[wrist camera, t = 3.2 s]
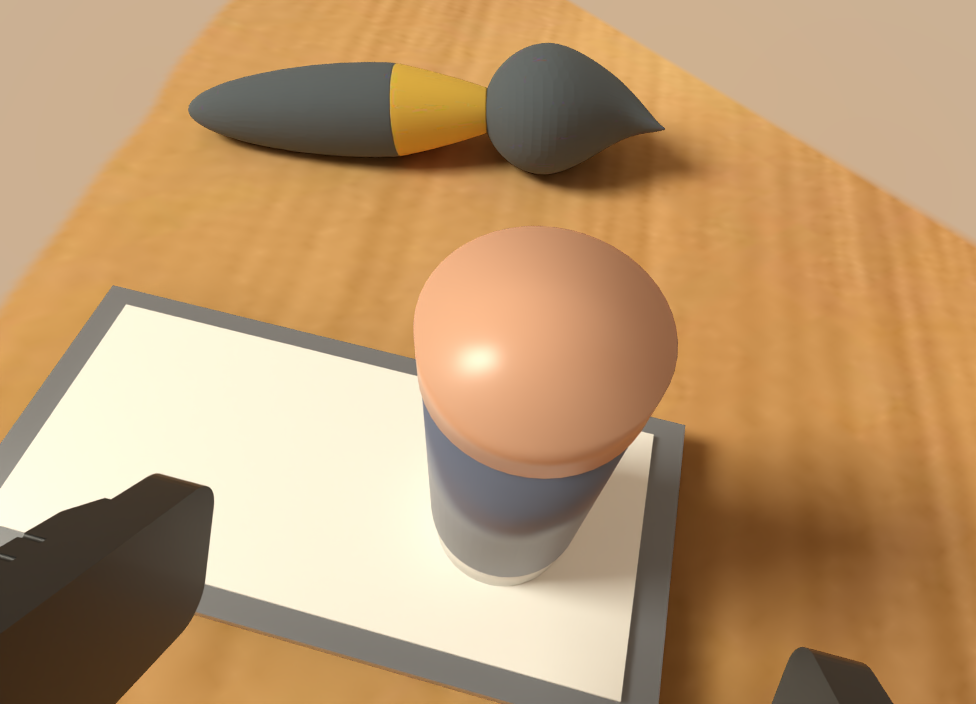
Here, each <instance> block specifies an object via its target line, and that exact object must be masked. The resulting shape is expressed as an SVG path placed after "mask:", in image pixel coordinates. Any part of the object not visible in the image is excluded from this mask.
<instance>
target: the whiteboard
mask: <svg viewBox="0 0 976 704" xmlns="http://www.w3.org/2000/svg"><path fill="white" fill-rule="evenodd" d="M684 433H685V425H682V424H678V423H674V422H670V421H666V420H661V419H657V418H653V417H650V418H649V420H648V421H647V423H646V425H645V426H644V428H643V430H642V431H641V433H640V434H639V435H638V436H637V438H636V439H635V440H634V441H633V443H632V444H631V445H630V446H629V447H628V448H627V450H626V452H625V453H624V455H623V457H622V458H621V460H620V461H619V463H618V465H617V466H616V468H615V470H614V471H613V473H612V475H611V476H610V478H609V480H608V481H607V483H606V485H605V486H604V488H603V490H602V491H601V493H600V495H599V496H598V498H597V500H596V501H595V503H594V505H593V506H592V508H591V509H590V511H589V513H588V514H587V516H586V518H585V519H584V521H583V523H582V524H581V526H580V528H579V529H578V531H577V533H576V534H575V536H574V538H573V539H572V541H571V543H570V544H569V546H568V547H567V548H566V550H565V551H564V552H563V554H561V555H560V556H559V557H558V558H557V559H556V560H555V561H554V562H553V564H552V565H551V566H550V567H549V568H548V569H547V570H546V571H545V572H543V573H542V574H541V575H539V576H538V577H536V578H534V579H532V580H530V581H528V582H525V583H522V584H518V585H514V586H493V585H488V584H485V583H482V582H479V581H476V580H474V579H472V578H470V577H469V576H467V575H466V574H464V573H463V572H461V571H460V570H459V569H458V568H457V567H456V566H455V565H454V564H453V563H452V562H451V560H450V559H449V558H448V556H447V555H446V553H445V552H444V550H443V548H442V545H441V543H440V540H439V537H438V533H437V529H436V527H435V524H434V520H433V516H432V510H431V498H430V486H429V474H428V462H427V450H426V438H425V426H424V414H423V402H422V395H421V392H420V388H419V383H418V377H417V366H416V359H412V358H408V357H404V356H400V355H396V354H392V353H387V352H383V351H379V350H375V349H371V348H367V347H363V346H359V345H355V344H351V343H347V342H342V341H338V340H334V339H330V338H326V337H322V336H318V335H314V334H310V333H306V332H302V331H297V330H293V329H289V328H285V327H281V326H277V325H273V324H269V323H265V322H261V321H257V320H252V319H248V318H244V317H240V316H236V315H232V314H228V313H224V312H220V311H216V310H212V309H208V308H203V307H199V306H195V305H191V304H187V303H183V302H179V301H175V300H171V299H167V298H163V297H158V296H154V295H150V294H146V293H142V292H138V291H134V290H130V289H126V288H122V287H118V286H112V287H111V289H110V290H109V292H108V293H107V294H106V296H105V297H104V299H103V300H102V302H101V303H100V304H99V306H98V307H97V309H96V310H95V311H94V313H93V314H92V316H91V317H90V318H89V320H88V321H87V323H86V324H85V325H84V327H83V328H82V330H81V331H80V332H79V334H78V335H77V337H76V338H75V340H74V341H73V342H72V344H71V345H70V347H69V348H68V349H67V351H66V352H65V354H64V355H63V356H62V358H61V359H60V361H59V362H58V363H57V365H56V366H55V368H54V369H53V370H52V372H51V373H50V375H49V376H48V378H47V379H46V380H45V382H44V383H43V385H42V386H41V387H40V389H39V390H38V392H37V393H36V394H35V396H34V397H33V399H32V400H31V401H30V403H29V404H28V406H27V407H26V409H25V410H24V411H23V413H22V414H21V416H20V417H19V418H18V420H17V421H16V423H15V424H14V425H13V427H12V428H11V430H10V431H9V432H8V434H7V435H6V437H5V438H4V439H3V441H2V442H1V444H0V547H1V546H2V545H4V544H6V543H7V542H9V541H11V540H13V539H14V538H16V537H20V538H22V537H23V536H24V534H25V532H26V531H28V530H30V529H31V528H33V527H35V526H37V525H38V524H40V523H42V522H43V521H45V520H47V519H49V518H50V517H52V516H54V515H55V514H57V513H59V512H61V511H64V510H67V509H70V508H73V507H77V506H80V505H83V504H86V503H89V502H93V501H96V500H99V499H102V498H108V499H112V498H114V497H115V496H117V495H119V494H120V493H122V492H124V491H125V490H127V489H128V488H130V487H132V486H133V485H135V484H136V483H138V482H140V481H141V480H143V479H144V478H146V477H148V476H150V475H152V474H155V473H160V474H163V475H167V476H171V477H175V478H178V479H182V480H186V481H190V482H193V483H197V484H201V485H205V486H208V487H210V488H211V489H212V491H213V494H214V510H213V519H212V527H211V536H210V545H209V553H208V562H207V570H206V579H205V586H204V590H203V594H202V597H201V600H200V603H199V605H198V607H197V610H196V612H195V614H194V615H197V616H200V617H204V618H207V619H211V620H214V621H218V622H221V623H224V624H228V625H231V626H235V627H238V628H242V629H245V630H249V631H252V632H256V633H259V634H263V635H266V636H269V637H273V638H276V639H280V640H283V641H287V642H290V643H294V644H297V645H301V646H304V647H308V648H311V649H314V650H318V651H321V652H325V653H328V654H332V655H335V656H339V657H342V658H346V659H349V660H352V661H356V662H359V663H363V664H366V665H370V666H373V667H377V668H380V669H384V670H387V671H391V672H394V673H397V674H401V675H404V676H408V677H411V678H415V679H418V680H422V681H425V682H429V683H432V684H436V685H439V686H442V687H446V688H449V689H453V690H456V691H460V692H463V693H467V694H470V695H474V696H477V697H481V698H484V699H487V700H491V701H494V702H498V703H501V704H659V694H660V684H661V673H662V663H663V652H664V642H665V632H666V621H667V611H668V600H669V590H670V579H671V569H672V559H673V548H674V538H675V527H676V517H677V506H678V496H679V486H680V475H681V465H682V454H683V444H684Z"/></svg>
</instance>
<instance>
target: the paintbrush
mask: <svg viewBox="0 0 976 704" xmlns="http://www.w3.org/2000/svg"><path fill="white" fill-rule="evenodd" d="M188 111H189V114H190V116H191V117H192V118H193V119H194V120H195V121H196V122H197V123H199V124H200V125H202V126H204V127H206V128H207V129H209V130H212V131H214V132H216V133H219V134H222V135H224V136H227V137H230V138H234V139H237V140H241V141H244V142H249V143H253V144H257V145H262V146H267V147H272V148H278V149H284V150H291V151H297V152H305V153H314V154H323V155H335V156H352V157H395V156H403V155H409V154H413V153H418V152H422V151H426V150H430V149H434V148H438V147H442V146H446V145H449V144H453V143H457V142H460V141H463V140H467V139H470V138H473V137H476V136H479V135H483V134H486V133H488V135H489V138H490V140H491V142H492V143H493V145H494V147H495V148H496V149H497V151H498V152H499V153H500V154H501V155H502V156H503V157H504V158H505V159H506V160H507V161H508V162H510V163H511V164H513V165H514V166H516V167H518V168H520V169H522V170H524V171H527V172H530V173H535V174H553V173H557V172H561V171H564V170H566V169H569V168H571V167H573V166H575V165H578V164H580V163H582V162H583V161H585V160H587V159H589V158H590V157H592V156H594V155H595V154H597V153H599V152H601V151H602V150H604V149H606V148H607V147H609V146H611V145H612V144H614V143H616V142H618V141H620V140H622V139H625V138H628V137H631V136H634V135H638V134H643V133H650V132H657V131H662V130H665V128H664V127H662V126H661V125H660V124H659V123H658V122H657V121H656V120H655V118H654V117H653V116H652V115H651V114H650V113H649V111H648V110H647V109H646V108H645V106H644V105H643V104H642V103H641V102H640V101H639V99H638V98H637V97H636V96H635V95H634V94H633V93H632V92H631V91H630V90H629V89H628V88H627V87H626V86H625V85H624V84H623V83H622V82H621V81H620V80H619V79H618V78H617V77H615V76H614V75H613V74H612V73H611V72H609V71H608V70H607V69H605V68H604V67H603V66H601V65H600V64H598V63H597V62H595V61H594V60H592V59H590V58H589V57H587V56H585V55H584V54H582V53H580V52H578V51H576V50H574V49H571V48H569V47H567V46H563V45H559V44H554V43H541V44H536V45H532V46H529V47H526V48H524V49H522V50H520V51H518V52H516V53H515V54H514V55H512V56H511V57H510V58H508V59H507V60H506V61H505V62H504V63H503V64H502V65H501V66H500V68H499V69H498V70H497V71H496V73H495V74H494V76H493V78H492V79H491V82H490V84H489V86H488V88H486V87H483V86H480V85H477V84H474V83H471V82H468V81H464V80H461V79H458V78H455V77H451V76H447V75H444V74H440V73H436V72H432V71H429V70H425V69H420V68H416V67H412V66H408V65H403V64H397V63H387V62H357V63H334V64H322V65H310V66H303V67H296V68H288V69H281V70H276V71H271V72H266V73H261V74H256V75H252V76H247V77H243V78H240V79H236V80H232V81H229V82H226V83H223V84H220V85H218V86H215V87H213V88H211V89H209V90H207V91H205V92H203V93H201V94H200V95H198V96H197V97H196V98H195V99H194V100H193V101H192V102H191V103H190V105H189V108H188Z"/></svg>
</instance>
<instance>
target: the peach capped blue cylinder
mask: <svg viewBox="0 0 976 704" xmlns="http://www.w3.org/2000/svg"><path fill="white" fill-rule="evenodd" d="M414 344H415V355H416V366H417V377H418V383H419V388H420V392H421V395H422V402H423V414H424V426H425V438H426V450H427V462H428V474H429V486H430V498H431V510H432V516H433V520H434V524H435V527H436V529H437V533H438V537H439V540H440V543H441V545H442V548H443V550H444V552H445V553H446V555H447V556H448V558H449V559H450V560H451V562H452V563H453V564H454V565H455V566H456V567H457V568H458V569H459V570H460V571H461V572H463V573H464V574H466V575H467V576H469V577H470V578H472V579H474V580H476V581H479V582H482V583H485V584H488V585H493V586H514V585H518V584H522V583H525V582H528V581H530V580H532V579H534V578H536V577H538V576H539V575H541V574H542V573H543V572H545V571H546V570H547V569H548V568H549V567H550V566H551V565H552V564H553V562H554V561H555V560H556V559H557V558H558V557H559V556H560V555H561V554H563V552H564V551H565V550H566V548H567V547H568V546H569V544H570V543H571V541H572V539H573V538H574V536H575V534H576V533H577V531H578V529H579V528H580V526H581V524H582V523H583V521H584V519H585V518H586V516H587V514H588V513H589V511H590V509H591V508H592V506H593V505H594V503H595V501H596V500H597V498H598V496H599V495H600V493H601V491H602V490H603V488H604V486H605V485H606V483H607V481H608V480H609V478H610V476H611V475H612V473H613V471H614V470H615V468H616V466H617V465H618V463H619V461H620V460H621V458H622V457H623V455H624V453H625V452H626V450H627V448H628V447H629V446H630V445H631V444H632V443H633V441H634V440H635V439H636V438H637V436H638V435H639V434H640V433H641V431H642V430H643V428H644V426H645V425H646V423H647V421H648V420H649V418H650V417H651V415H652V413H653V412H654V410H655V408H656V407H657V405H658V404H659V402H660V400H661V399H662V397H663V395H664V394H665V392H666V390H667V388H668V386H669V385H670V382H671V379H672V377H673V374H674V371H675V366H676V361H677V354H678V339H677V331H676V325H675V322H674V318H673V314H672V312H671V309H670V307H669V305H668V303H667V300H666V298H665V297H664V295H663V294H662V292H661V290H660V289H659V287H658V286H657V284H656V283H655V282H654V281H653V279H652V278H651V277H650V276H649V274H648V273H647V272H646V271H645V270H644V269H643V268H642V267H641V266H640V265H639V264H637V263H636V262H635V261H633V260H632V259H631V258H630V257H628V256H627V255H626V254H624V253H623V252H621V251H620V250H618V249H616V248H615V247H613V246H611V245H609V244H607V243H605V242H603V241H601V240H599V239H597V238H594V237H591V236H589V235H586V234H583V233H579V232H576V231H572V230H568V229H562V228H556V227H545V226H523V227H515V228H508V229H504V230H499V231H495V232H492V233H489V234H486V235H483V236H480V237H478V238H476V239H474V240H472V241H470V242H468V243H466V244H464V245H463V246H461V247H460V248H458V249H457V250H455V251H454V252H452V253H451V254H450V255H449V256H448V257H447V258H445V259H444V260H443V261H442V262H441V263H440V264H439V265H438V267H437V268H436V269H435V270H434V271H433V272H432V274H431V275H430V277H429V278H428V280H427V281H426V283H425V285H424V287H423V289H422V291H421V293H420V296H419V299H418V302H417V306H416V309H415V316H414Z"/></svg>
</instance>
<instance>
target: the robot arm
mask: <svg viewBox="0 0 976 704" xmlns="http://www.w3.org/2000/svg"><path fill="white" fill-rule="evenodd" d="M213 510H214V494H213V491H212V489H211V488H210V487H208V486H205V485H201V484H197V483H193V482H190V481H186V480H182V479H178V478H175V477H171V476H167V475H163V474H160V473H155V474H152V475H150V476H148V477H146V478H144V479H143V480H141V481H140V482H138V483H136V484H135V485H133V486H132V487H130V488H128V489H127V490H125V491H124V492H122V493H120V494H119V495H117V496H115V497H114V498H112V499H108V498H102V499H99V500H96V501H93V502H89V503H86V504H83V505H80V506H77V507H73V508H70V509H67V510H64V511H61V512H59V513H57V514H55V515H54V516H52V517H50V518H49V519H47V520H45V521H43V522H42V523H40V524H38V525H37V526H35V527H33V528H31V529H30V530H28V531H26V532H25V534H24V536H23V537H22V538H20V537H16V538H14V539H13V540H11V541H9V542H7V543H6V544H4V545H2V546H1V547H0V704H116V703H117V702H118V701H119V699H120V698H121V697H122V696H123V695H124V694H125V693H126V692H127V691H128V690H129V689H130V688H131V687H132V686H133V684H134V683H135V682H136V681H137V680H138V679H139V678H140V677H141V676H142V675H143V674H144V673H145V672H146V671H147V669H148V668H149V667H150V666H151V665H152V664H153V663H154V662H155V661H156V660H157V659H158V658H159V657H160V656H161V655H162V653H163V652H164V651H165V650H166V649H167V648H168V647H169V646H170V645H171V644H172V643H173V642H174V641H175V640H176V638H177V637H178V636H179V635H180V634H181V633H182V632H183V631H184V630H185V628H186V627H187V625H188V624H189V622H190V621H191V619H192V617H193V616H194V614H195V612H196V610H197V607H198V605H199V603H200V600H201V597H202V594H203V590H204V586H205V579H206V570H207V562H208V553H209V545H210V536H211V527H212V519H213ZM772 704H893V703H892V701H891V700H890V698H889V697H888V695H887V693H886V692H885V690H884V689H883V687H882V686H881V684H880V683H879V681H878V679H877V678H876V676H875V675H874V673H873V672H872V670H871V669H870V668H869V667H868V666H867V665H866V664H864V663H861V662H858V661H854V660H850V659H846V658H843V657H839V656H835V655H831V654H828V653H824V652H820V651H816V650H813V649H809V648H805V647H800V648H798V649H796V650H795V651H794V652H793V653H792V655H791V656H790V658H789V660H788V663H787V665H786V668H785V670H784V673H783V676H782V678H781V681H780V683H779V686H778V689H777V691H776V694H775V697H774V699H773V702H772Z"/></svg>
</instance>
